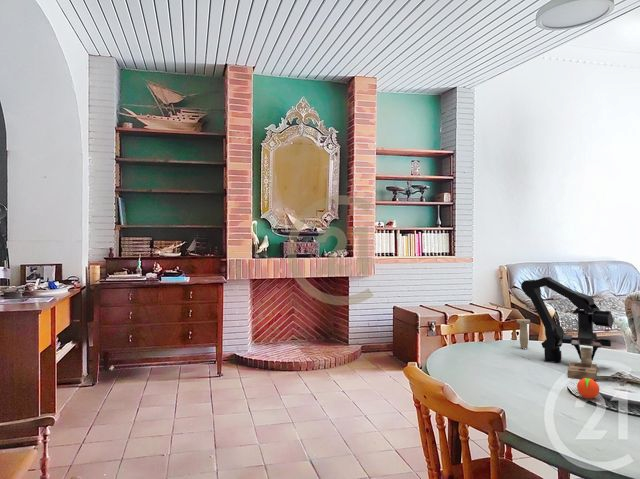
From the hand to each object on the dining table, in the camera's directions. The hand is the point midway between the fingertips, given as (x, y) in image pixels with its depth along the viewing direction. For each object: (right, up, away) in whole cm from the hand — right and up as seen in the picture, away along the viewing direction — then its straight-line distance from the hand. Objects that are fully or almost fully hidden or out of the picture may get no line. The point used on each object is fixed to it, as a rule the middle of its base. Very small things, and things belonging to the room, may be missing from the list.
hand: (586, 359), depth 206 cm
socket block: (-8, -3, -11) cm, 14 cm away
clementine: (-22, -3, -40) cm, 46 cm away
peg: (0, -3, 0) cm, 3 cm away
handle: (-11, -4, +36) cm, 38 cm away
